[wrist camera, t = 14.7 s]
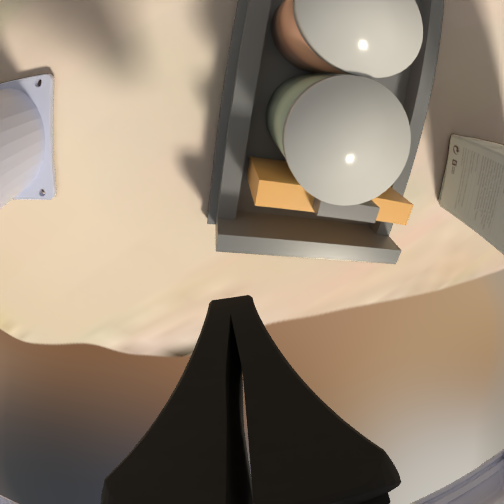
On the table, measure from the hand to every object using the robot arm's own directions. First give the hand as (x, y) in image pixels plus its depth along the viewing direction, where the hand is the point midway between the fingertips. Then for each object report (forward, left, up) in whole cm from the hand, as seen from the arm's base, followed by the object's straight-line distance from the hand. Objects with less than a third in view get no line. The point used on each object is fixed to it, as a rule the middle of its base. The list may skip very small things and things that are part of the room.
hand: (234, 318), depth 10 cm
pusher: (+5, +3, -9) cm, 11 cm away
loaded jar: (+4, +6, -9) cm, 11 cm away
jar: (+3, +11, -9) cm, 15 cm away
